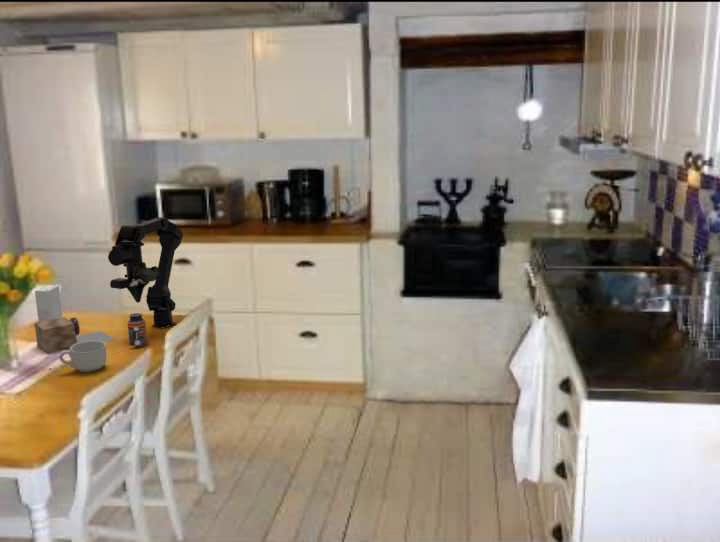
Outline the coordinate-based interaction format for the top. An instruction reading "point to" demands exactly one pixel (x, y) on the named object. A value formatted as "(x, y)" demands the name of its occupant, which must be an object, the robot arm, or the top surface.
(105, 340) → the slate board
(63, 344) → the press housing
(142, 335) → the supplement bottle
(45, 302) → the skincare box
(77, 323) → the plunger
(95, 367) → the teacup
